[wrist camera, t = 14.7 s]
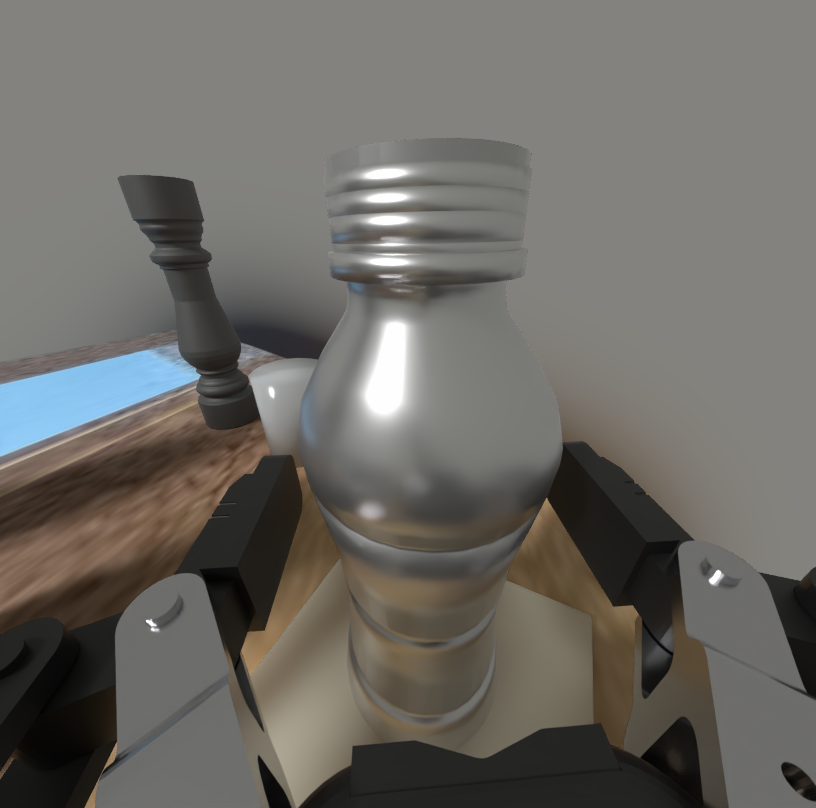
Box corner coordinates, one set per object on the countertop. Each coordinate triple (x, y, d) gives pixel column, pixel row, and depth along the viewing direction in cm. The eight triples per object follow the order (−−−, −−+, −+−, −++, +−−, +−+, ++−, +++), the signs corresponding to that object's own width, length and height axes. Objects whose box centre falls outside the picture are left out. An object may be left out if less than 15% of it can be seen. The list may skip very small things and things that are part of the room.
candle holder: (200, 433, 37) (97, 173, 25) (213, 409, 42) (133, 184, 30) (256, 425, 38) (184, 175, 26) (262, 402, 44) (204, 186, 32)
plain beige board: (208, 752, 14) (199, 742, 13) (368, 532, 24) (367, 521, 23) (587, 1140, 8) (601, 1153, 7) (586, 627, 18) (591, 616, 17)
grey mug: (256, 456, 33) (232, 377, 29) (303, 424, 38) (289, 354, 34) (316, 479, 30) (299, 394, 25) (358, 440, 35) (350, 365, 31)
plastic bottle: (417, 581, 19) (416, 194, 10) (518, 679, 15) (694, 157, 5) (326, 670, 15) (173, 172, 6) (426, 838, 11) (470, -24, 1)
